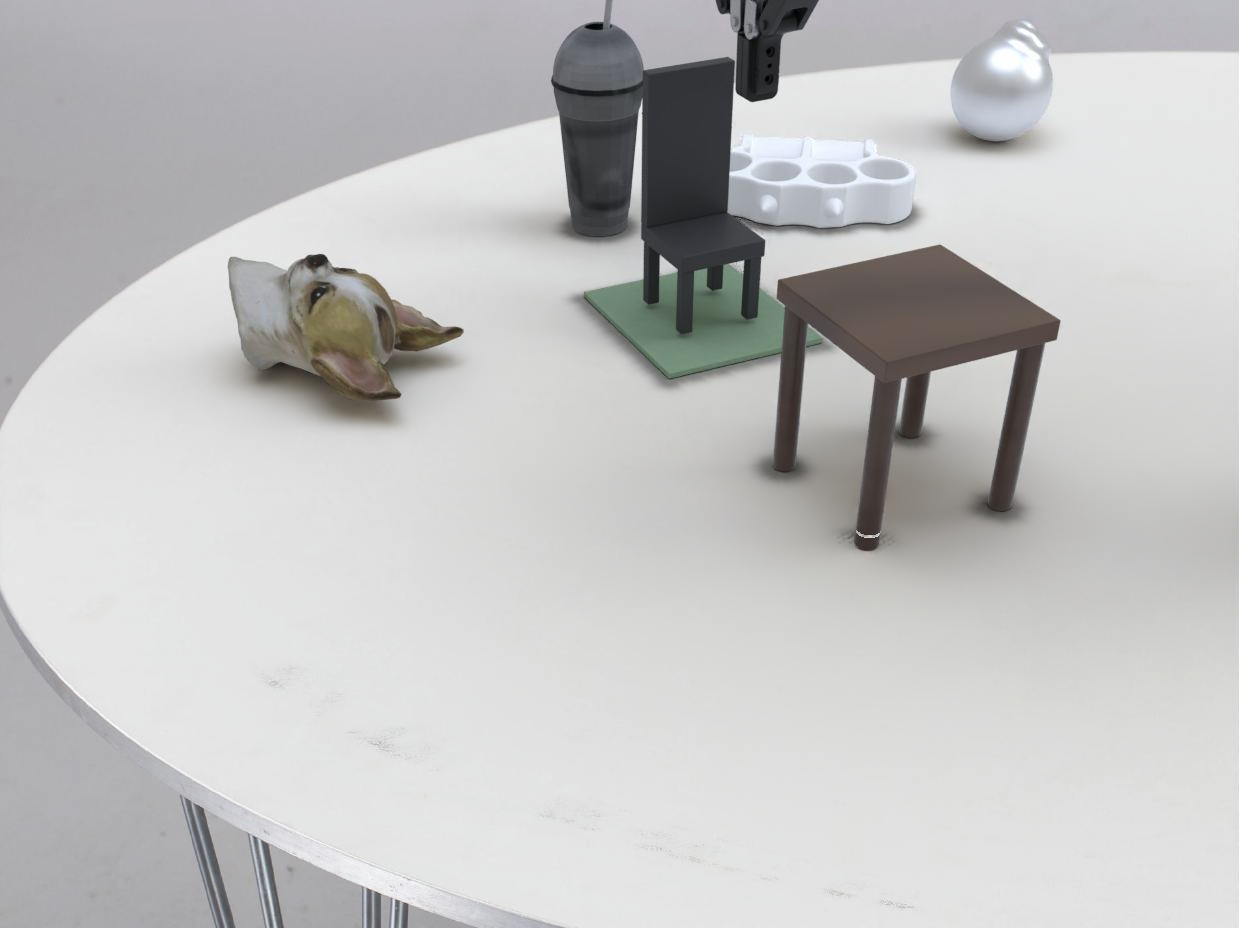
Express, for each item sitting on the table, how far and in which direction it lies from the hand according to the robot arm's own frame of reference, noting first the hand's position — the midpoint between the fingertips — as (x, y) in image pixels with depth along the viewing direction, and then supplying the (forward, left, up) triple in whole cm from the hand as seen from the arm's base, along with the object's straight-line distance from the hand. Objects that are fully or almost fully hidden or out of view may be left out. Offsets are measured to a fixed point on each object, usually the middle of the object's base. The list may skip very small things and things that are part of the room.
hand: (756, 96), depth 89 cm
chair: (+4, -3, -17) cm, 18 cm away
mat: (+4, -3, -17) cm, 18 cm away
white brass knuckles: (+5, -27, -18) cm, 33 cm away
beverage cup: (+18, -15, -17) cm, 30 cm away
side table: (-15, +12, -17) cm, 26 cm away
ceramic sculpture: (+23, +15, -18) cm, 33 cm away
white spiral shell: (-6, -48, -18) cm, 52 cm away
